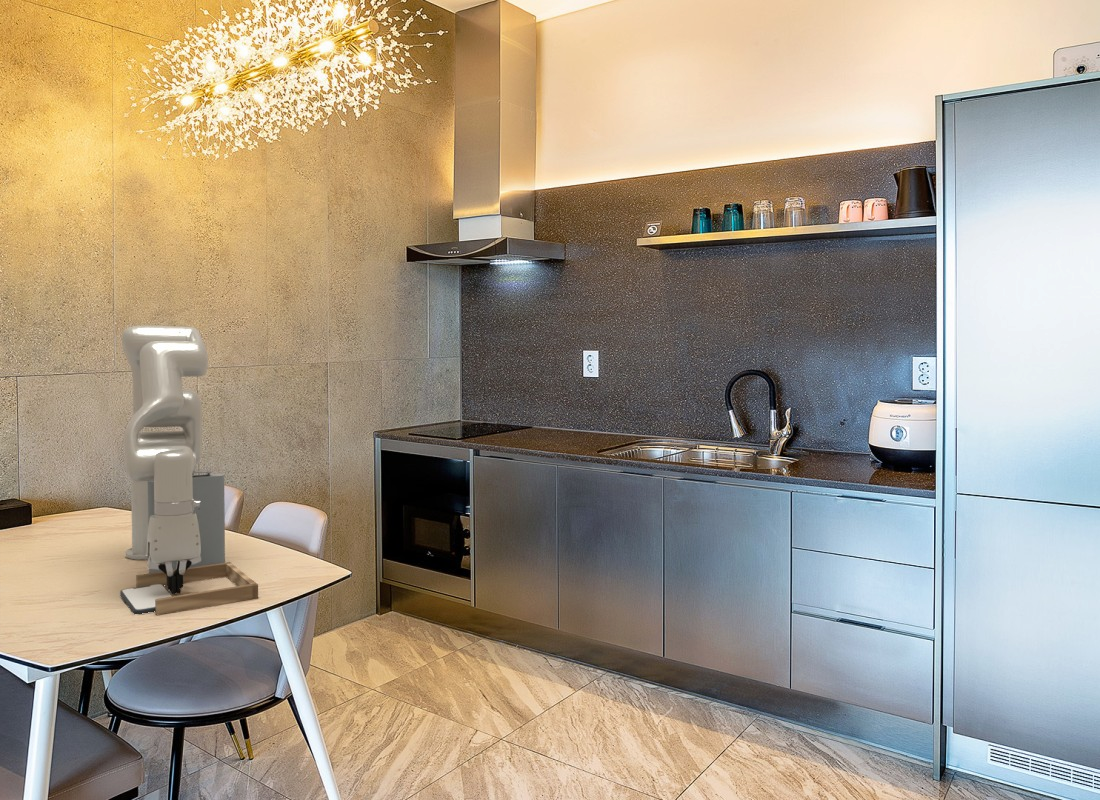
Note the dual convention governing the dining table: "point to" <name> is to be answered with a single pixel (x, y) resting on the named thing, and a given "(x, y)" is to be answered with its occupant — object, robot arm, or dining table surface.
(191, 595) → the wooden u-shaped frame
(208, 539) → the upright grey panel
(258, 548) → the dining table surface
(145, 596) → the smartphone
